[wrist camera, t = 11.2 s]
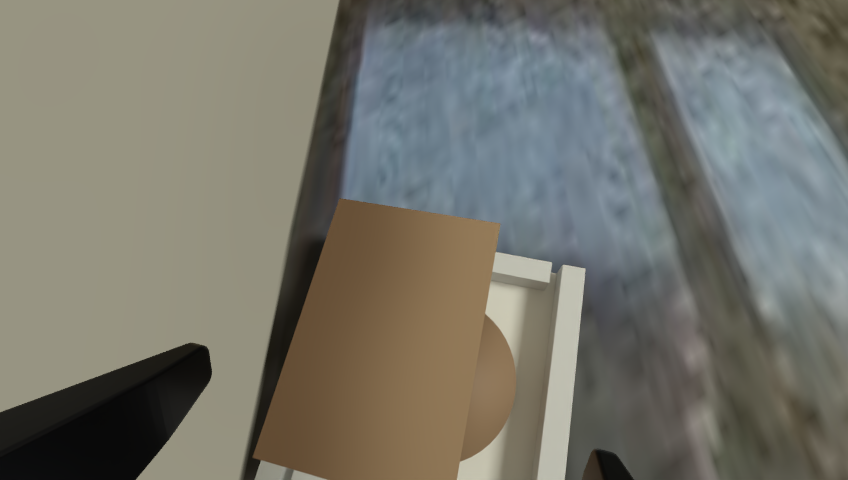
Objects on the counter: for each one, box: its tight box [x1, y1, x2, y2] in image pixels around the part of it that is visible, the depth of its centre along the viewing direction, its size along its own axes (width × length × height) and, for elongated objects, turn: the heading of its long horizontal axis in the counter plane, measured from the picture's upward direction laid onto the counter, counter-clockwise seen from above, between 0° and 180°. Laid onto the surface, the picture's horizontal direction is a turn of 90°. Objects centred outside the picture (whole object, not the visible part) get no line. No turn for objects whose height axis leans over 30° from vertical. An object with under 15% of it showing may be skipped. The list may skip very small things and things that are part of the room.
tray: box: [255, 252, 585, 480], centre depth 19 cm, size 12×12×3 cm
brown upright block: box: [253, 198, 516, 480], centre depth 13 cm, size 7×7×12 cm
